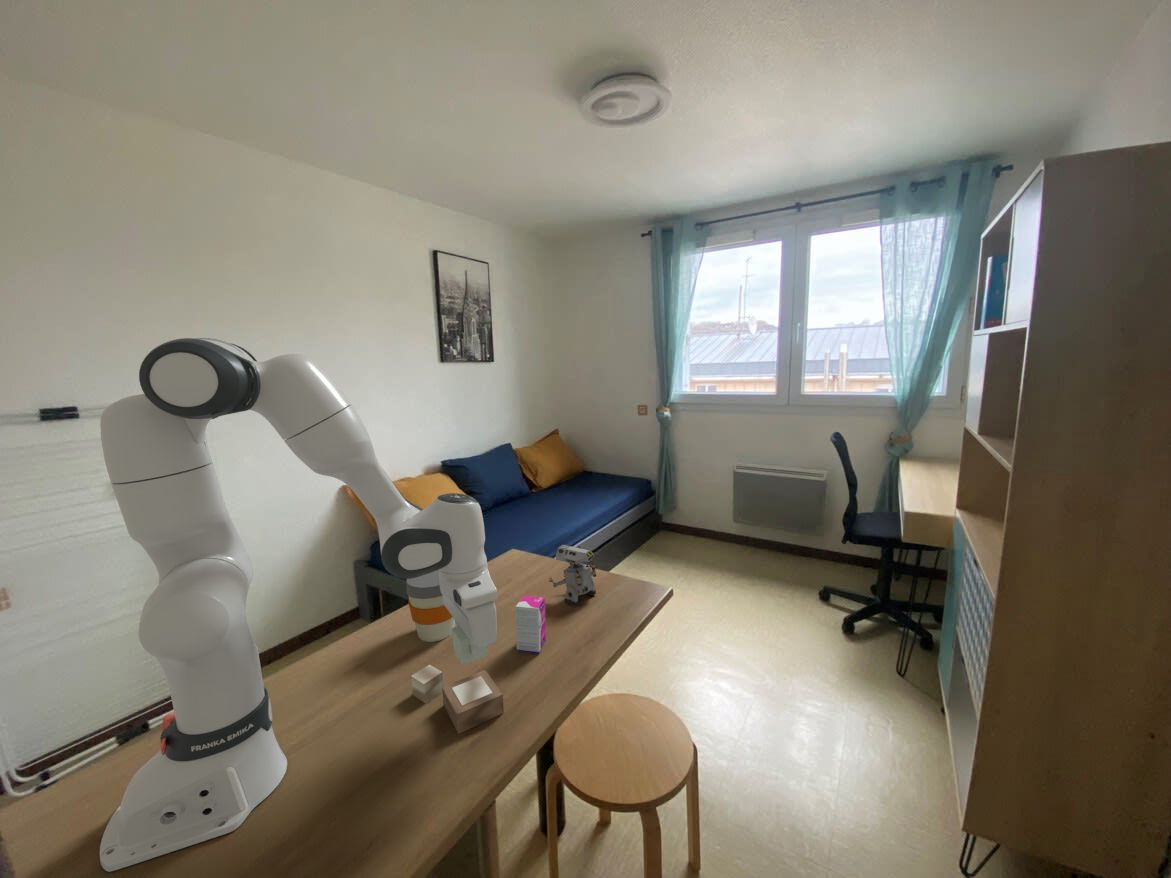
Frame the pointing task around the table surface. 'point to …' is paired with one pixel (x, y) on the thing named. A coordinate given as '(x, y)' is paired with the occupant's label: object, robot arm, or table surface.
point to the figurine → (576, 573)
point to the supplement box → (530, 624)
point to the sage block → (464, 647)
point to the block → (427, 683)
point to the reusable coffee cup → (429, 608)
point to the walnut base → (472, 701)
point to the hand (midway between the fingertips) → (469, 645)
